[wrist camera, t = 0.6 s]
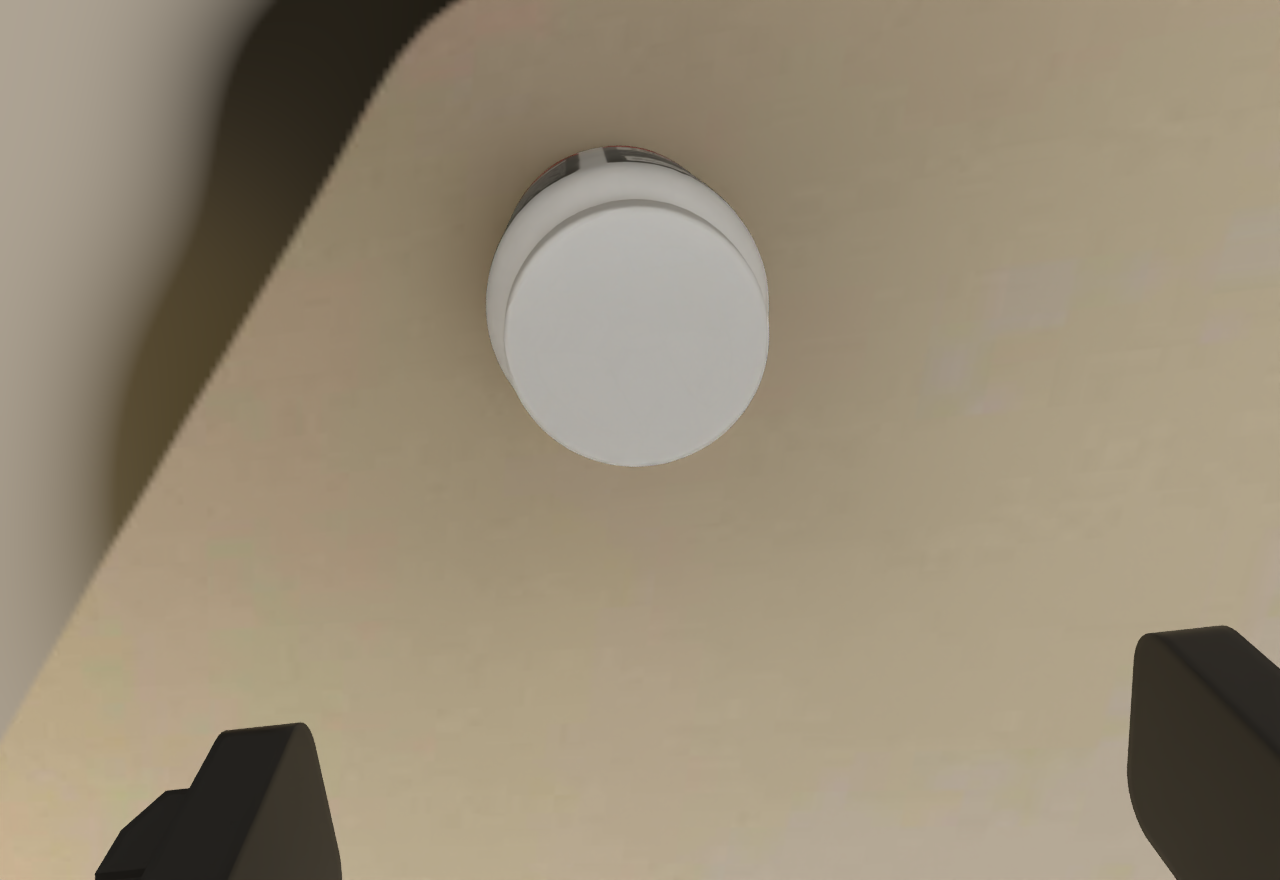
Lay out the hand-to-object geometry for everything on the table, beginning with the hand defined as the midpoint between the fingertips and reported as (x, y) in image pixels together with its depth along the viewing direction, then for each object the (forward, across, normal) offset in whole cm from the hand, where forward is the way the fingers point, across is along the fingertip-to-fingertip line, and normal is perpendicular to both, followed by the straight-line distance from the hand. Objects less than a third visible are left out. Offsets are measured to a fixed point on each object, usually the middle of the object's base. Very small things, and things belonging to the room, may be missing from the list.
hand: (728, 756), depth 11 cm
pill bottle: (+20, 0, -2) cm, 20 cm away
